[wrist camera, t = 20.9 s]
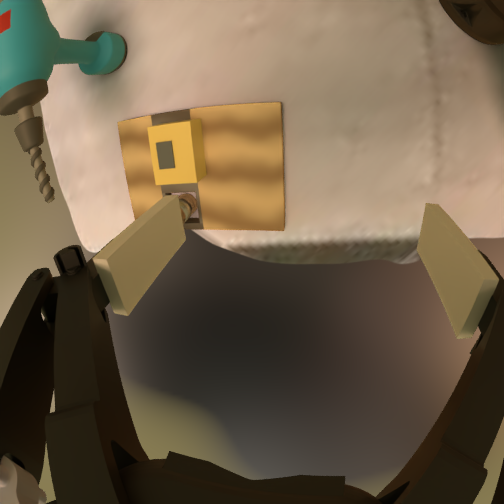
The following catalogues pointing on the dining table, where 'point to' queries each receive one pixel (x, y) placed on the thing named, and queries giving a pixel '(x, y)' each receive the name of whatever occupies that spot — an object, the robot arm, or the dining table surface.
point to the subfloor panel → (218, 166)
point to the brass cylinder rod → (187, 205)
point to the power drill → (43, 69)
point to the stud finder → (177, 152)
